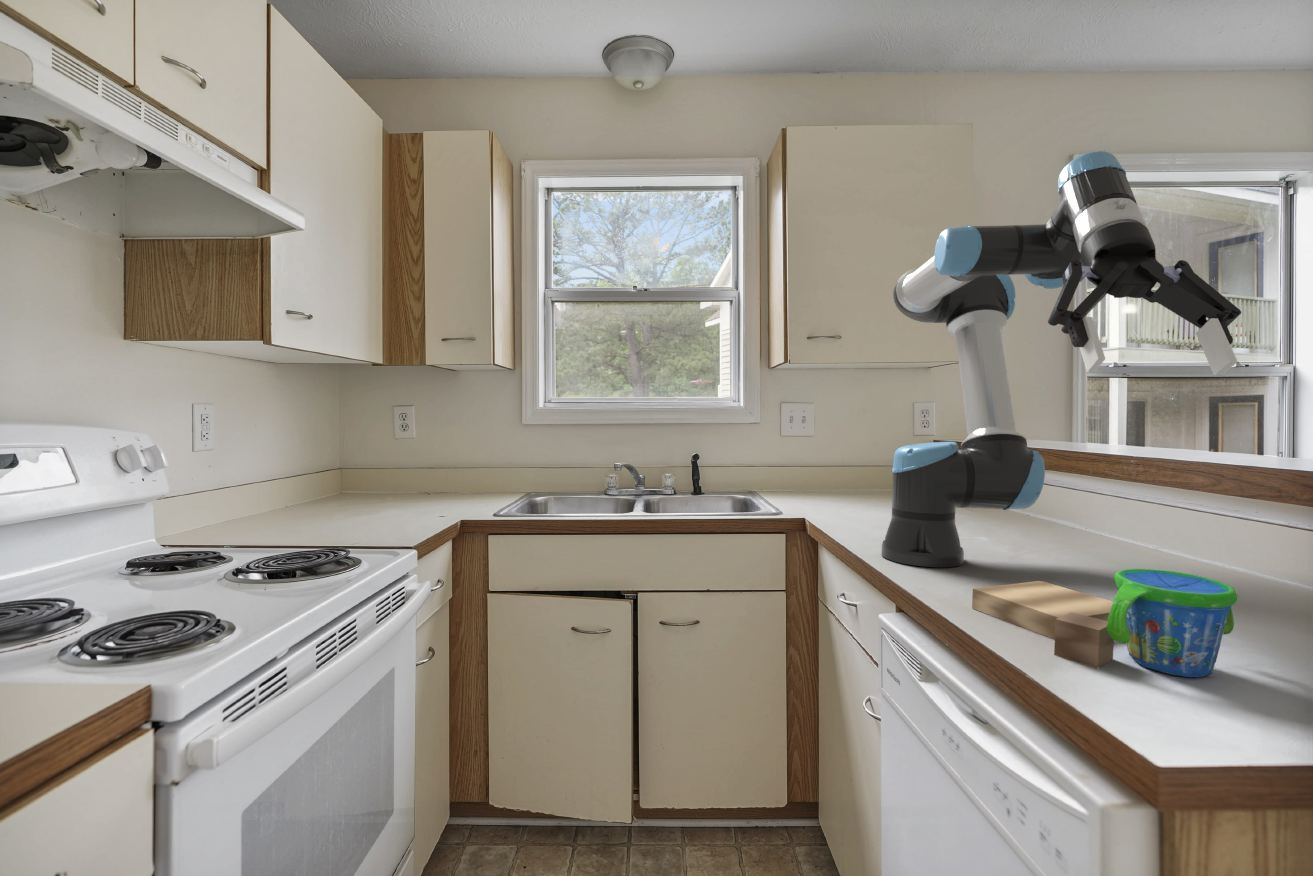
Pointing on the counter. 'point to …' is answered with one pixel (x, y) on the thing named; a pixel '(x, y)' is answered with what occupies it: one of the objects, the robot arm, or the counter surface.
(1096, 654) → the walnut block
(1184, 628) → the snack cup
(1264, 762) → the counter surface
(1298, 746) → the counter surface
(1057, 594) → the oak base slab
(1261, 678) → the counter surface
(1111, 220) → the robot arm
